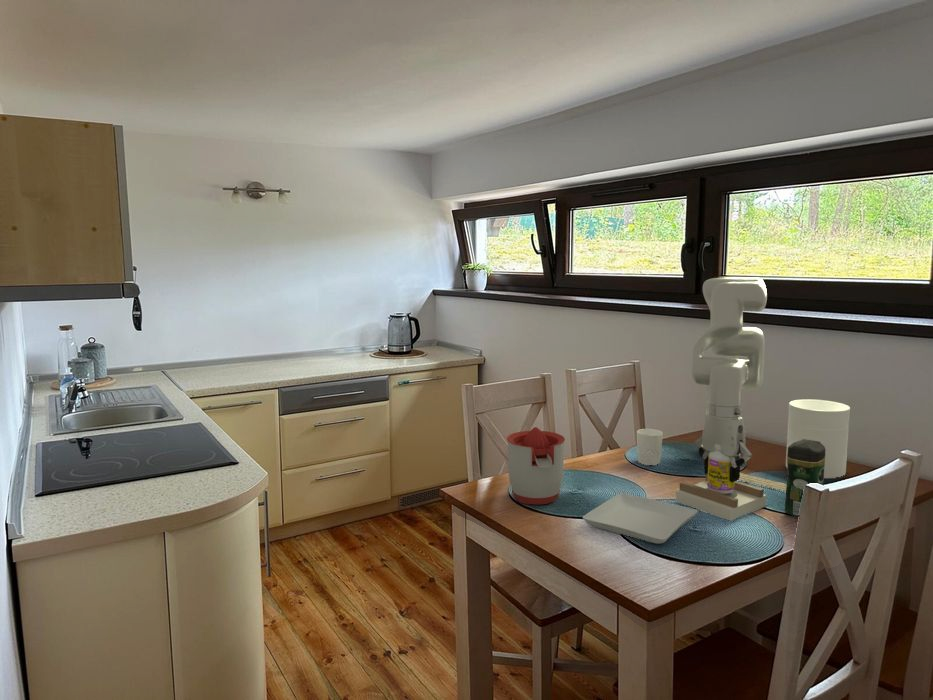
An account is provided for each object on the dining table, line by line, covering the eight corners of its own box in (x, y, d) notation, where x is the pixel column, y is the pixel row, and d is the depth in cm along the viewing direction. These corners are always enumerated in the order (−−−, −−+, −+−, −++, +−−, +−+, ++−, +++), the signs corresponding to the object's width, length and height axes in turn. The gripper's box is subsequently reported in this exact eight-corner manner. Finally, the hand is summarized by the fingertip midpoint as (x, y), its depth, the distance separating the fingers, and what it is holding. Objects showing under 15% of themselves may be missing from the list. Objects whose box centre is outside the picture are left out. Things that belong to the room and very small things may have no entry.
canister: (857, 472, 189) (862, 407, 186) (822, 481, 182) (826, 413, 179) (808, 458, 203) (811, 397, 201) (774, 466, 196) (777, 403, 194)
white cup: (665, 466, 198) (665, 435, 197) (639, 466, 198) (640, 435, 197) (657, 458, 206) (658, 428, 205) (633, 458, 206) (634, 428, 205)
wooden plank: (713, 477, 190) (714, 471, 190) (725, 471, 194) (725, 466, 194) (796, 498, 172) (796, 491, 172) (806, 491, 177) (807, 485, 177)
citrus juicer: (515, 513, 163) (515, 438, 160) (502, 490, 180) (501, 421, 178) (574, 509, 166) (574, 434, 163) (555, 486, 183) (555, 418, 180)
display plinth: (711, 488, 178) (712, 471, 177) (766, 506, 165) (767, 487, 164) (675, 501, 169) (676, 483, 168) (730, 521, 156) (730, 501, 155)
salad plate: (580, 529, 154) (580, 515, 154) (620, 503, 170) (620, 490, 170) (664, 553, 140) (664, 539, 140) (699, 522, 156) (699, 509, 156)
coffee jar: (792, 503, 166) (796, 435, 164) (825, 511, 161) (830, 440, 158) (779, 514, 160) (783, 443, 157) (814, 523, 154) (818, 449, 152)
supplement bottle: (702, 490, 167) (704, 443, 165) (712, 483, 171) (714, 437, 170) (728, 496, 162) (730, 448, 160) (738, 489, 167) (740, 442, 165)
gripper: (764, 414, 159) (760, 483, 161) (703, 402, 173) (701, 465, 176) (746, 419, 155) (743, 489, 157) (686, 406, 169) (684, 471, 171)
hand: (721, 476), depth 166 cm, fingers closed on supplement bottle, 6 cm apart
